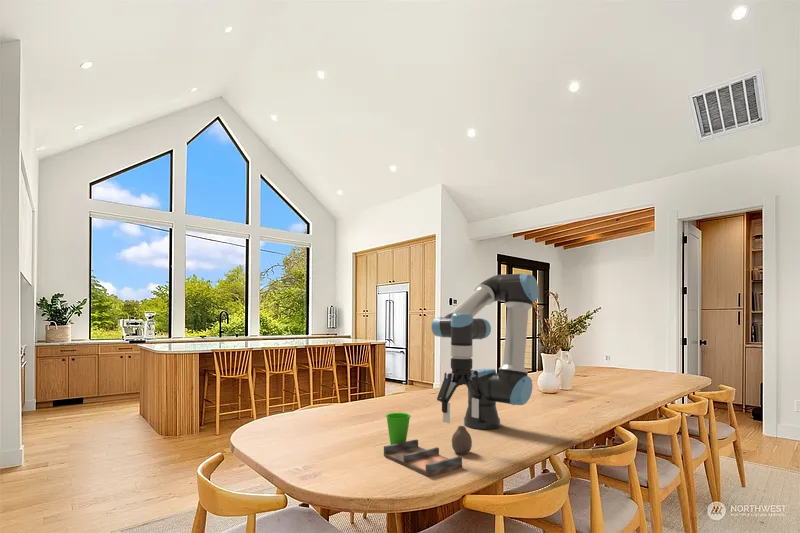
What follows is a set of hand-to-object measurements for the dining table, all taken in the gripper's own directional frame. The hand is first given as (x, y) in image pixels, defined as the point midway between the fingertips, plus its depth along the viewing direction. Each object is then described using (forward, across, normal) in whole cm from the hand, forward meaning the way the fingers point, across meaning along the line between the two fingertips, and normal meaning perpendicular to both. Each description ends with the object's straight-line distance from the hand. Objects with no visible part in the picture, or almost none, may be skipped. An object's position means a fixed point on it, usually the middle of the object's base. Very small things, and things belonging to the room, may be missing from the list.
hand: (461, 419), depth 164 cm
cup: (+12, +13, -18) cm, 25 cm away
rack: (+11, +16, -1) cm, 20 cm away
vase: (+11, -1, 0) cm, 11 cm away
